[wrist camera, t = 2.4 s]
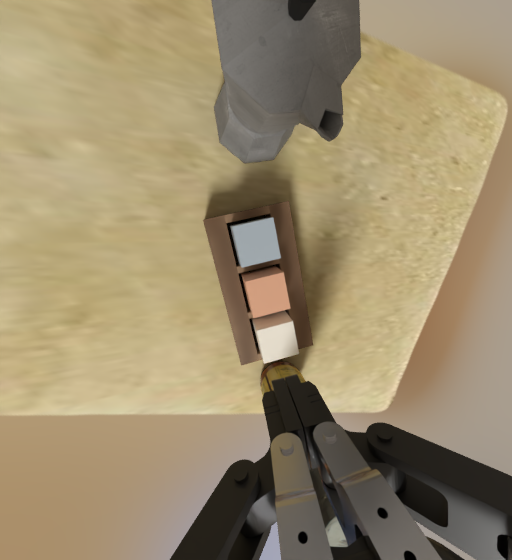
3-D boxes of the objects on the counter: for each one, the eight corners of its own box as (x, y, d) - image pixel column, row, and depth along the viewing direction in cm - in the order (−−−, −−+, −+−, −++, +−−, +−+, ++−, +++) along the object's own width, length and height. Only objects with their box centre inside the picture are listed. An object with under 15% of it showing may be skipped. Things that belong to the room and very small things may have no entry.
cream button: (258, 347, 34) (264, 363, 30) (251, 317, 32) (256, 330, 29) (289, 338, 34) (299, 353, 30) (283, 309, 33) (292, 321, 29)
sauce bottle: (281, 401, 39) (346, 578, 20) (250, 382, 37) (286, 556, 18) (308, 369, 38) (401, 520, 19) (277, 349, 36) (345, 492, 17)
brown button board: (239, 353, 36) (241, 365, 33) (204, 219, 31) (203, 219, 28) (305, 335, 37) (313, 345, 34) (282, 202, 32) (288, 200, 29)
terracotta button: (249, 306, 32) (253, 318, 28) (241, 274, 31) (244, 281, 27) (281, 298, 32) (290, 308, 29) (275, 265, 31) (283, 272, 27)
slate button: (238, 261, 30) (241, 267, 27) (229, 225, 29) (232, 226, 25) (273, 253, 31) (281, 258, 27) (265, 217, 30) (273, 217, 26)
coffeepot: (313, 155, 31) (436, 73, 14) (248, 195, 31) (289, 164, 13) (249, 17, 27) (311, -361, 9) (173, 63, 26) (94, -232, 9)
